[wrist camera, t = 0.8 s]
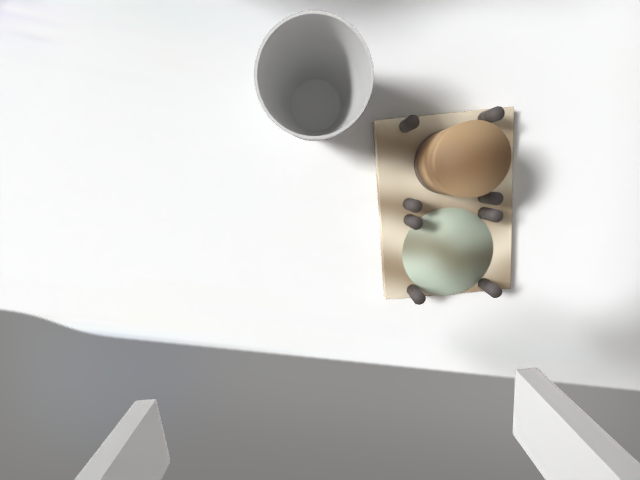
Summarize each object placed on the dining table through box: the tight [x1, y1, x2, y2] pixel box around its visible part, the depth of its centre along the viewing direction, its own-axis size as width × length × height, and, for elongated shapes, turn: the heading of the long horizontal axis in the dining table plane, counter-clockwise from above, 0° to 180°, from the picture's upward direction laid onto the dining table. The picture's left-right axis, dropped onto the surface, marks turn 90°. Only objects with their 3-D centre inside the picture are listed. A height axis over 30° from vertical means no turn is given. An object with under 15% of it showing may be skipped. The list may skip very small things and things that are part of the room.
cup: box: [254, 10, 374, 141], centre depth 27 cm, size 8×8×10 cm
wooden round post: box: [414, 120, 512, 198], centre depth 29 cm, size 6×6×6 cm
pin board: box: [374, 106, 514, 304], centre depth 32 cm, size 18×13×4 cm
